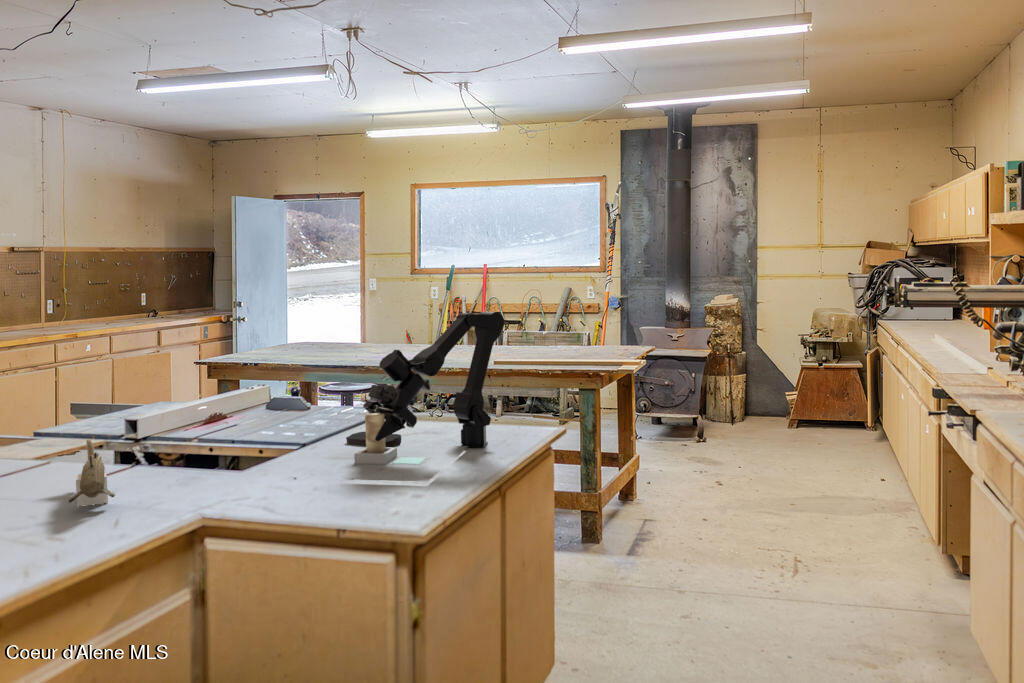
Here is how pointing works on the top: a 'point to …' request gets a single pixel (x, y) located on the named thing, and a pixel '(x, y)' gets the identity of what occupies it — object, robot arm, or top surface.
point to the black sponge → (361, 439)
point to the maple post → (374, 433)
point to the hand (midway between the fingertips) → (370, 438)
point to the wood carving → (92, 481)
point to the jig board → (387, 458)
